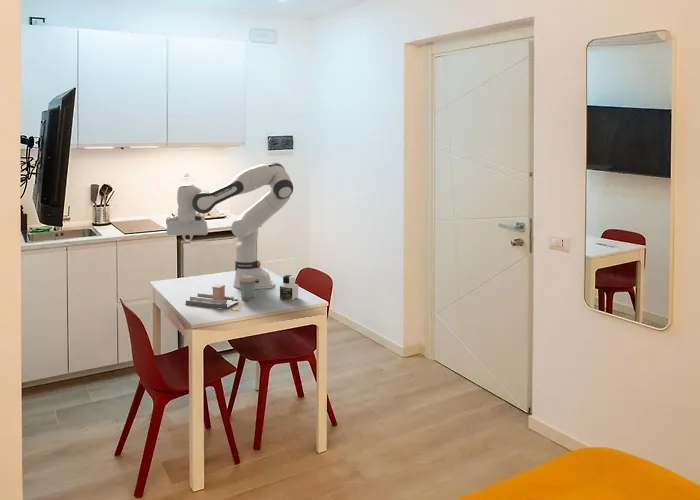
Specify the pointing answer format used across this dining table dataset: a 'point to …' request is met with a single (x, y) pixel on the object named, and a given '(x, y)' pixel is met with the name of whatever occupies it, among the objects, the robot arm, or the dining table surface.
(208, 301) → the switch board
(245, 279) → the coffee cup
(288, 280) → the medicine bottle
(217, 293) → the switch tab
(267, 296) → the dining table surface
